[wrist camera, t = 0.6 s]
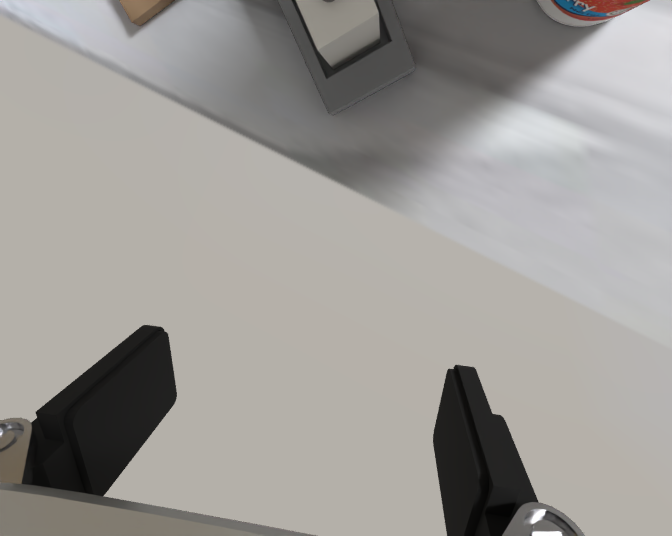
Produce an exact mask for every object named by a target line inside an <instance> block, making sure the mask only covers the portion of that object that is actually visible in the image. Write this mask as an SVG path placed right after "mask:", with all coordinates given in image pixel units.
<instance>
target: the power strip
mask: <svg viewBox="0 0 672 536" xmlns="http://www.w3.org/2000/svg"><path fill="white" fill-rule="evenodd" d="M278 2H279V4H280V6H281V9H282V11H283V13H284V15H285V18H286V20H287V22H288V24H289V26H290V29H291V31H292V33H293V35H294V38H295V40H296V42H297V44H298V46H299V49H300V51H301V53H302V55H303V57H304V60H305V62H306V64H307V66H308V69H309V71H310V73H311V75H312V77H313V80H314V82H315V84H316V86H317V89H318V91H319V93H320V95H321V97H322V100H323V102H324V104H325V106H326V108H327V111H328V113H329V114H331V115H335V114H337V113H338V112H340V111H342V110H344V109H346V108H348V107H349V106H351V105H353V104H355V103H357V102H359V101H360V100H362V99H364V98H366V97H368V96H370V95H371V94H373V93H375V92H377V91H379V90H381V89H382V88H384V87H386V86H388V85H390V84H392V83H393V82H395V81H397V80H399V79H401V78H403V77H404V76H406V75H408V74H410V73H412V72H413V71H414V69H415V63H414V60H413V57H412V55H411V52H410V49H409V47H408V44H407V41H406V38H405V36H404V33H403V30H402V27H401V25H400V22H399V19H398V17H397V14H396V11H395V8H394V6H393V3H392V0H374V2H375V4H376V7H377V10H378V12H379V29H380V43H378V44H376V45H375V46H373V47H371V48H369V49H368V50H366V51H364V52H363V53H361V54H359V55H357V56H356V57H354V58H352V59H351V60H349V61H347V62H346V63H344V64H342V65H340V66H339V67H337V68H335V69H334V70H333V68H332V67H331V66H330V65H329V64H328V62H327V61H326V60H325V59H324V57H323V56H322V55H321V54H320V53H319V51H318V50H317V48H316V46H315V43H314V41H313V39H312V36H311V34H310V32H309V30H308V27H307V25H306V23H305V20H304V18H303V16H302V14H301V11H300V9H299V7H298V4H297V2H296V0H278Z"/></svg>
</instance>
